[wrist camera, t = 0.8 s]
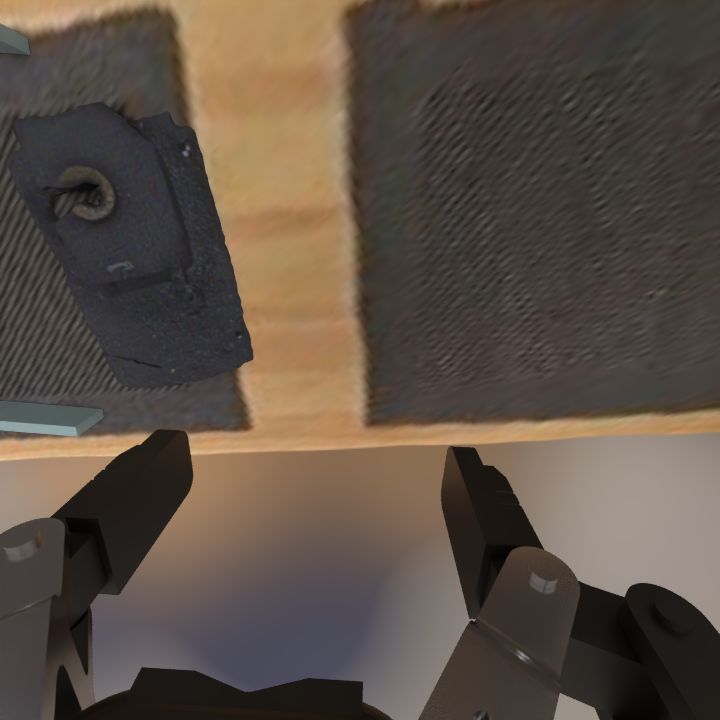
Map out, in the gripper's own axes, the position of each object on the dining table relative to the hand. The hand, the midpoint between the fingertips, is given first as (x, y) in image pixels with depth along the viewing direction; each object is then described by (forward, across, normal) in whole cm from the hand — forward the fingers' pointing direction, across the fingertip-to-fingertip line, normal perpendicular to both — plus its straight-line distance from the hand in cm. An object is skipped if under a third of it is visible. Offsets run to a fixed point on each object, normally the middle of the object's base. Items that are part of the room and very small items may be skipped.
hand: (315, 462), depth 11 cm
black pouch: (+23, +18, -3) cm, 29 cm away
